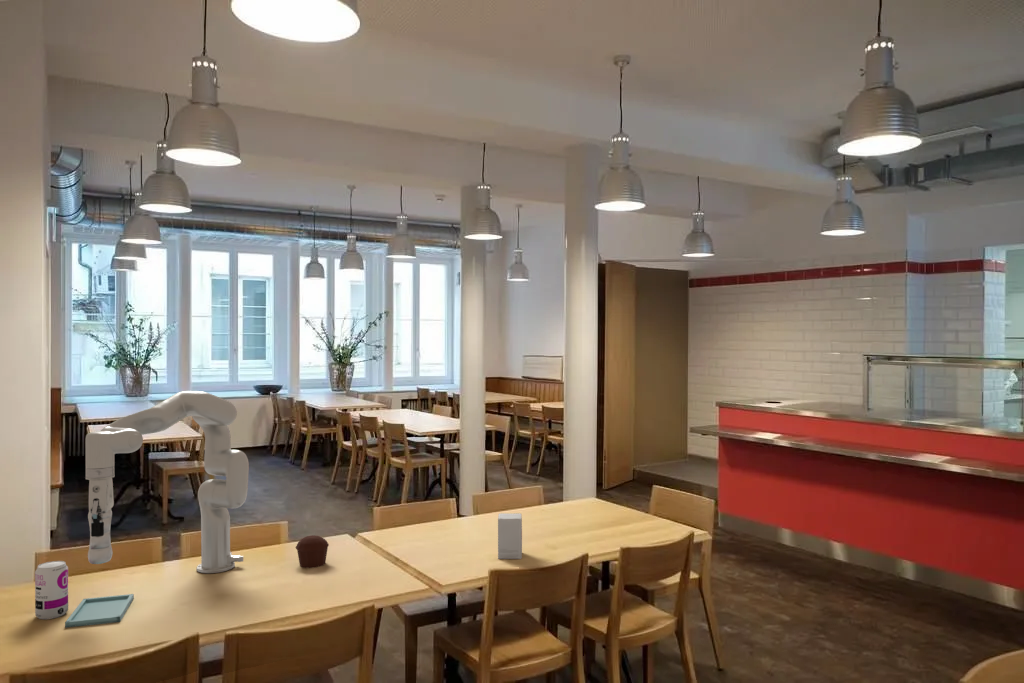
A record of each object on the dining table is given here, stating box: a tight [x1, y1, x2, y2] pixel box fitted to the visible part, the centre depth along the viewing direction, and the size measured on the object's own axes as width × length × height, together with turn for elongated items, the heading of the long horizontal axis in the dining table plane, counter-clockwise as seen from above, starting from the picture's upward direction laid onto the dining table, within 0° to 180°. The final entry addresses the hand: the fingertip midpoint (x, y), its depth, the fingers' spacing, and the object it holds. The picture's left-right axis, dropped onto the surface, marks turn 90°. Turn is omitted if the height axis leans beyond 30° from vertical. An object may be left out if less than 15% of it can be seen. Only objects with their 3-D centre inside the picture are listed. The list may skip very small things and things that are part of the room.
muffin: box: [295, 535, 330, 569], centre depth 264 cm, size 12×11×10 cm
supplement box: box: [497, 512, 523, 560], centre depth 273 cm, size 9×9×15 cm
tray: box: [64, 593, 135, 629], centre depth 218 cm, size 14×20×2 cm
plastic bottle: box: [87, 507, 114, 565], centre depth 218 cm, size 6×7×20 cm
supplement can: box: [34, 560, 69, 620], centre depth 216 cm, size 8×8×15 cm
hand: (100, 532), depth 218 cm, fingers closed on plastic bottle, 6 cm apart
